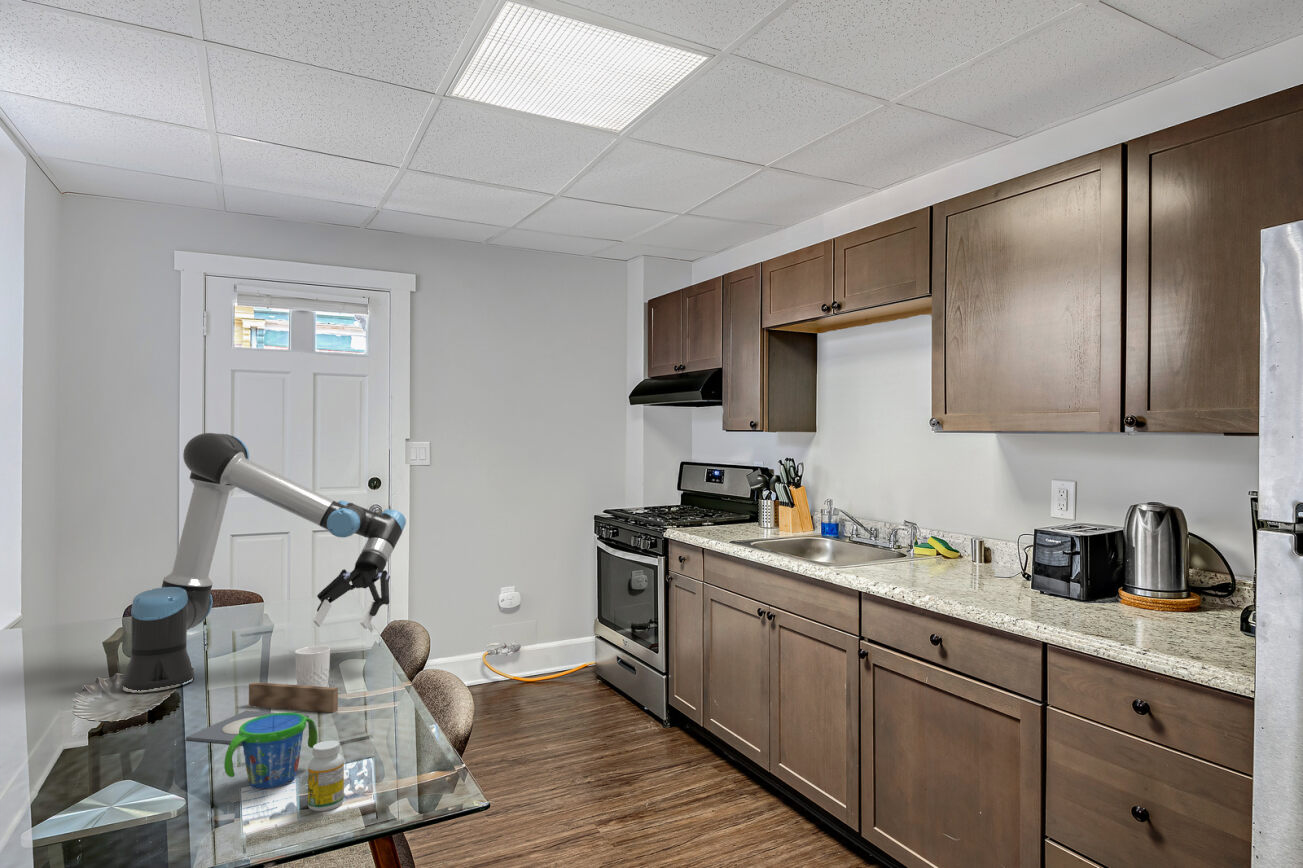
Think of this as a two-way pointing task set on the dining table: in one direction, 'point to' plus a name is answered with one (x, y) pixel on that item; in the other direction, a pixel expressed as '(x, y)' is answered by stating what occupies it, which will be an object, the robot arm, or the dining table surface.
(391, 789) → the dining table surface
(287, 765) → the snack cup
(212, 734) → the slate mat
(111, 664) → the dining table surface
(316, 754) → the supplement bottle
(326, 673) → the white cup
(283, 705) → the low wall
